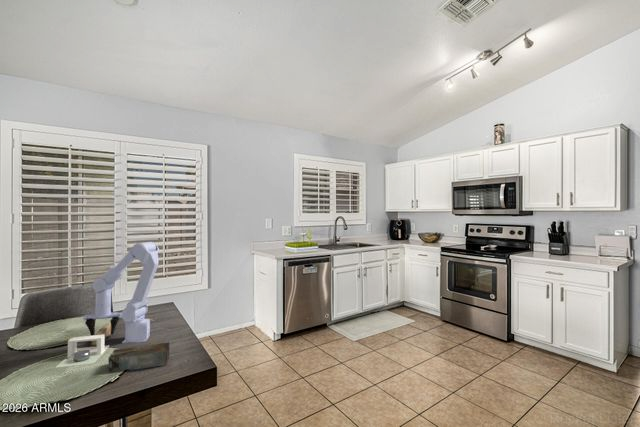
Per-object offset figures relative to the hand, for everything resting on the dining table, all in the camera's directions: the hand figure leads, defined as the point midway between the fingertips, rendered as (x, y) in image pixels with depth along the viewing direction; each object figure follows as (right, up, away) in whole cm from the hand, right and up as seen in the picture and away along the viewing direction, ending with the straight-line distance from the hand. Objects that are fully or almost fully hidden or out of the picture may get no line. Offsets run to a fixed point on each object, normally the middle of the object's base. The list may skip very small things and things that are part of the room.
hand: (102, 334), depth 140 cm
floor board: (+6, -2, -18) cm, 19 cm away
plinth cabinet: (+5, -2, -17) cm, 18 cm away
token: (+7, -1, -21) cm, 22 cm away
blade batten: (0, -2, -1) cm, 2 cm away
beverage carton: (+31, -2, -24) cm, 39 cm away
